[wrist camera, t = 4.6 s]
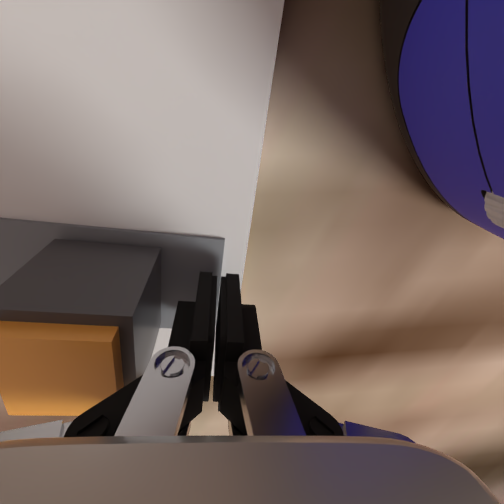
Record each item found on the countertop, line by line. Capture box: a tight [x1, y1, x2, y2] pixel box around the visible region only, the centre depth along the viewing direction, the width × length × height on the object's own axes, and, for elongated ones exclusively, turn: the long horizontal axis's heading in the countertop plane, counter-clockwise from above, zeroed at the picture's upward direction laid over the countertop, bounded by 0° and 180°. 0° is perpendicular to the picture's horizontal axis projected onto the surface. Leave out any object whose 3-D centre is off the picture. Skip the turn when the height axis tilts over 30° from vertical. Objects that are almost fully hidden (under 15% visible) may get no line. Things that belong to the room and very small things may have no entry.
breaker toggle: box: [0, 239, 161, 416], centre depth 11 cm, size 4×4×5 cm
